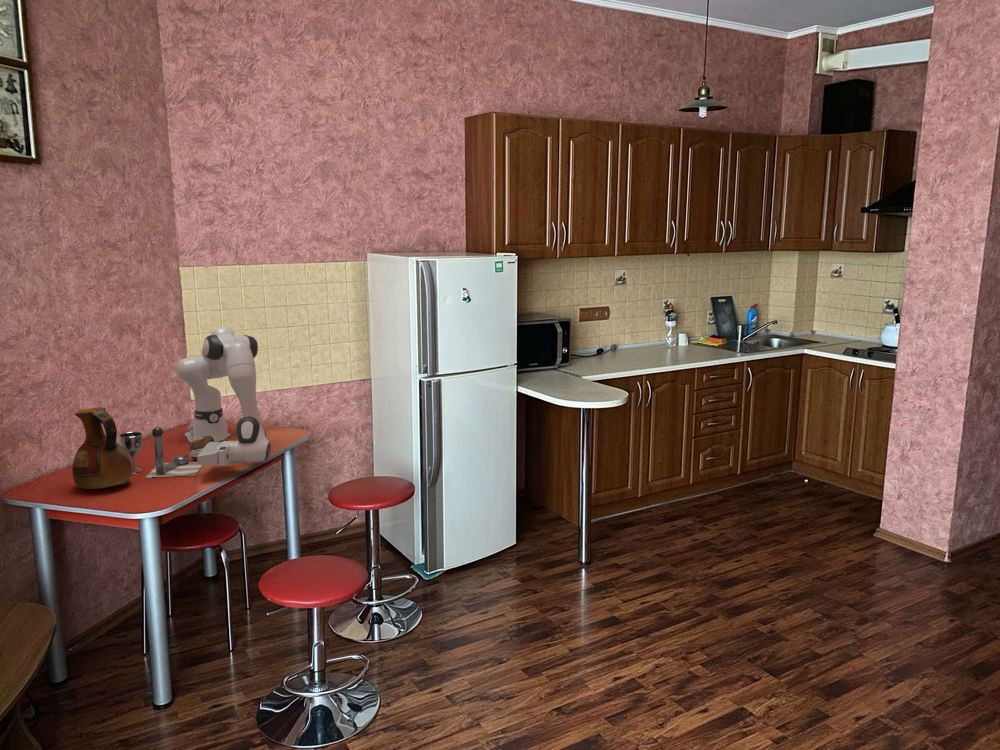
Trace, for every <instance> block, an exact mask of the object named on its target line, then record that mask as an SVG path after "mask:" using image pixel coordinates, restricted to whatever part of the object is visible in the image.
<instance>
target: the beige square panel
mask: <svg viewBox="0 0 1000 750" xmlns="http://www.w3.org/2000/svg"><path fill="white" fill-rule="evenodd" d="M168 463H169V462H164V465H166V464H168ZM202 466H203V467H204V465H200V464H198V461H189V463H187V464H184V465H178V466H176V467H174V468H172V469H170V470H168V471H167V472H165V473H164V474H156V466H155V467H154V468H152V470H151V471H150V472H149V473H148V474H147V475H146V476H145V477H146V479H153V478H152V477H169V478H174V477H173V476H195V475H196V474H197V475H198V473H199V472H200V471H199V470H201V469H202V468H203V467H202ZM201 467H202V468H201ZM198 471H199V472H198ZM197 472H198V473H197ZM197 475H196V476H197ZM196 476H195V477H196Z"/></svg>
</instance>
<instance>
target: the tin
mask: <svg viewBox="0 0 1000 750" xmlns="http://www.w3.org/2000/svg"><path fill="white" fill-rule="evenodd" d="M209 442H214V439H213V437H212V436H203V437H201V438H199V439H197V440H195V441H193V442H190V445H189V453H190V452H191V451H192V450H198V449H203V448H204V447H205V446H206V445H207V444H208V443H209ZM190 458H191V459H192V460H194V461H197V457H190Z"/></svg>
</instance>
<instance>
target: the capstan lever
mask: <svg viewBox="0 0 1000 750" xmlns="http://www.w3.org/2000/svg"><path fill="white" fill-rule="evenodd" d="M151 434H152V436H153V446H154V462H155V467H156V474H164V473H165V472H167V471H168V470H170V469H172V468H174V467H176V466H178V465H184V464H187V463H189V462H190V459H189V455H187V454H178V455H173V456H172V460H171V461H170V462H167V463H168V464H166V465H164V463H165V459H164V458H165V457H164V446H163V445H164V443H163V434H164V429H163V428H162V427H159V426H155V427H154V428H153V429H152V430H151Z"/></svg>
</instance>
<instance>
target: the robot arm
mask: <svg viewBox="0 0 1000 750" xmlns="http://www.w3.org/2000/svg"><path fill="white" fill-rule="evenodd" d="M258 350H259V343H258V341H257V339H256V338H255V337H253V336H249V335H246V334H245V335H242V334H236V332H235V331H234V330H233V329H232V328H230V327H229V326H225V325H222V326H218V327H217V328H214V330H213V331H212V332H211V333H210V334H209V335H207V336H206V337H205V339H204V341H203V345H202V347H201V351H200V352H201V355H194V356H193V355H192V356H188V357H185V358H181V359H179V360H178V361H177V363H176V367H175V372H176V375H177V377H178V378H179V379H180V380H181V381H183V382H185V383H186V384H187V385H188V386H189V387H190V389H191V390H192V393H193V399H194V406H195V409H194V412H193V413H194V414H193V417H194V418H193V419H192V420H191V422H190V423H189V425H187V431H188V432H185V433H184V435H185V438H186V437H187V438H186V439H187V441H188V442H189V443H192V442H193V441H195V440H197V439H199V438H201V437H203V436H212V437H213V439H214V442H209V443H208V444H207V445H206V446H205V447H204V448H203V449H198V450H192V451H191V452H190V451H189V453H188V454H189V457H190V458H191V457H197V460H196V462H198V464H200V465H203V466H219V467H224V466H225V467H226V466H227V465H230V464H238V463H239V464H240V463H247V464H250V463H253V464H254V463H259V462H260V463H261V462H265V461H266V460H267V459H268V458H269V456H270V453H271V448H272V447H271V442H270V441H269V440H268V438H267V431H266V429H265V428H264V426H263V425H262V422H261V420H260V416H259V410H258V409H259V408H258V405H257V404H258V403H257V369H256V363H255V358H256V357H257V355H258ZM225 377H227V378H228V381H229V384H230V386H231V388H232V390H233V392H234V393H235V394H236V395H235V396H236V397H237V398H238V401H239V403H240V407H241V415H242V418H240V419H239V420H238V422H237V423H236V426H235V430H236V431H235V432H236V437H237V440H227V441H226V439H228V438H229V437H231V436H232V434H231V433H230V432H228V424H227V419H226V418H225V417H223V415H224V409H223V407H222V398H221V396H222V395H221V391H220V390H219V389H218V388H216V387H214V386H211V385H209V383H208V380H213V379H221V378H225Z"/></svg>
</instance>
